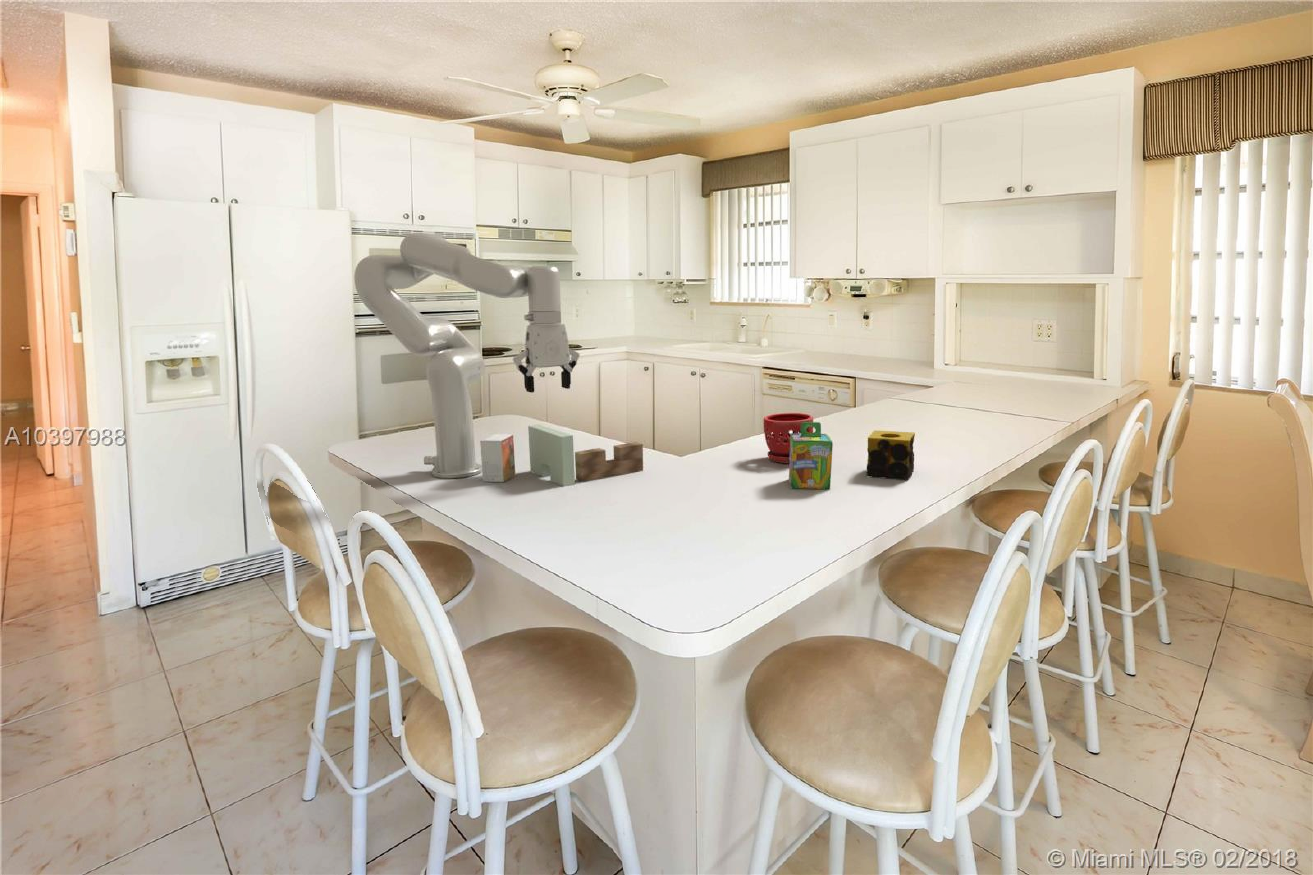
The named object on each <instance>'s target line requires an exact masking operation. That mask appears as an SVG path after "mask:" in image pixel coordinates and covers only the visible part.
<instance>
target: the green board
mask: <svg viewBox="0 0 1313 875" xmlns="http://www.w3.org/2000/svg"><path fill="white" fill-rule="evenodd" d="M527 428H528V429H527V430H528V447H529V448H528V449H529V450H528V451H529V463H530V464H529V466H530V470H529V471H530V472H532V474H533V473H534V474H536V475H538V476H540V477H549V478H550V482H553V483H555V484H558V485H560V486H562V487H567V486H571V485H576V483H575V482H576V474H575V451H574V435H572V434H570V433H567V432H563V431H561V430H557V429H555V428H550V427H548V426H546V425H542V424H539V423H538V424H532V425H528V426H527Z"/></svg>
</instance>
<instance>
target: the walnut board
mask: <svg viewBox="0 0 1313 875" xmlns="http://www.w3.org/2000/svg"><path fill="white" fill-rule="evenodd" d="M643 444H644V443H641V442H638V441H636V442H635V441H634V442H628V443H627V442H626V443H622V444H617V445H616V444H615V445H613V459H606V452H607V451H606V449H603V448H600V447H598V448H592V449H584V450H579V451H574V468H575V481H577V482H580V483H586V482H590V481H596V480H602V479H606V478H612V477H618V476H622V475H627V474H631V473H633V474H634V473H637V472H643V471H644V448H643V447H644V445H643Z"/></svg>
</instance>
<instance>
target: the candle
mask: <svg viewBox="0 0 1313 875" xmlns="http://www.w3.org/2000/svg"><path fill="white" fill-rule="evenodd" d="M915 435H916V432H913V431H911V432H910V431H909V432H908V431H893V430H873V431H872V433H871V434H870V435H868V437H867V464H866V477H868V476H872V477H871V478H879V477H880V478H881V479H889V480H892V479H893V480H899V479H900V480H902V481H908V480H910V478H911V477H912V475H913V472H914V471H915V452H914V442H915Z"/></svg>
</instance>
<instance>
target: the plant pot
mask: <svg viewBox="0 0 1313 875" xmlns="http://www.w3.org/2000/svg"><path fill="white" fill-rule="evenodd" d="M802 422H814V417H813V416H812V415H811V414H807V413H800V412H798V413H797V412H786V413H785V412H784V413H783V412H782V413H773V414H769V415H766V416H764V417H763V434H764V439H765V443H766V446H767V448H768V449H769V451H768V452H767V457H768V458H769V460H771V461H772V462H776V463H781V464H783V465H785V464H790V434H791V433H790V431H791V432H792V433H801V423H802ZM806 431H807V432H808V433H814V427H808V428H807V429H806Z"/></svg>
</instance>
